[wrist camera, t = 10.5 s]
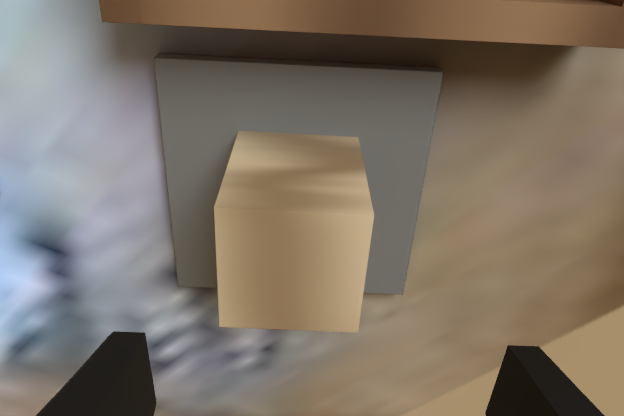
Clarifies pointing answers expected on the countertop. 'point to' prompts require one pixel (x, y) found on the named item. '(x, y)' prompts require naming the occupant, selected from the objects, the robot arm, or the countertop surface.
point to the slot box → (395, 18)
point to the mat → (295, 120)
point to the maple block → (293, 233)
